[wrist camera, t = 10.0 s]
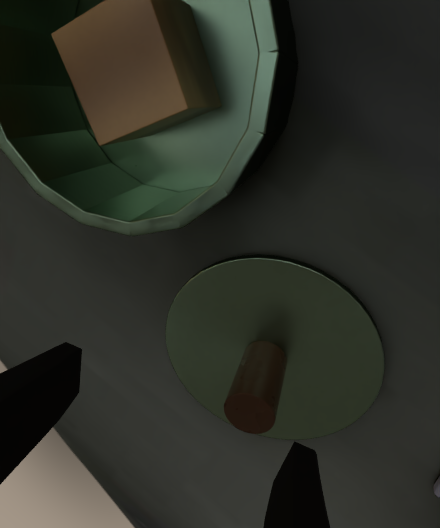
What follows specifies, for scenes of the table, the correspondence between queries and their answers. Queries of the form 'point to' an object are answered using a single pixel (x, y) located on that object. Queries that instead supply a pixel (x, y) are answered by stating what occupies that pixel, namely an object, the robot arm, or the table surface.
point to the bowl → (157, 145)
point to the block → (137, 67)
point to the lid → (275, 347)
